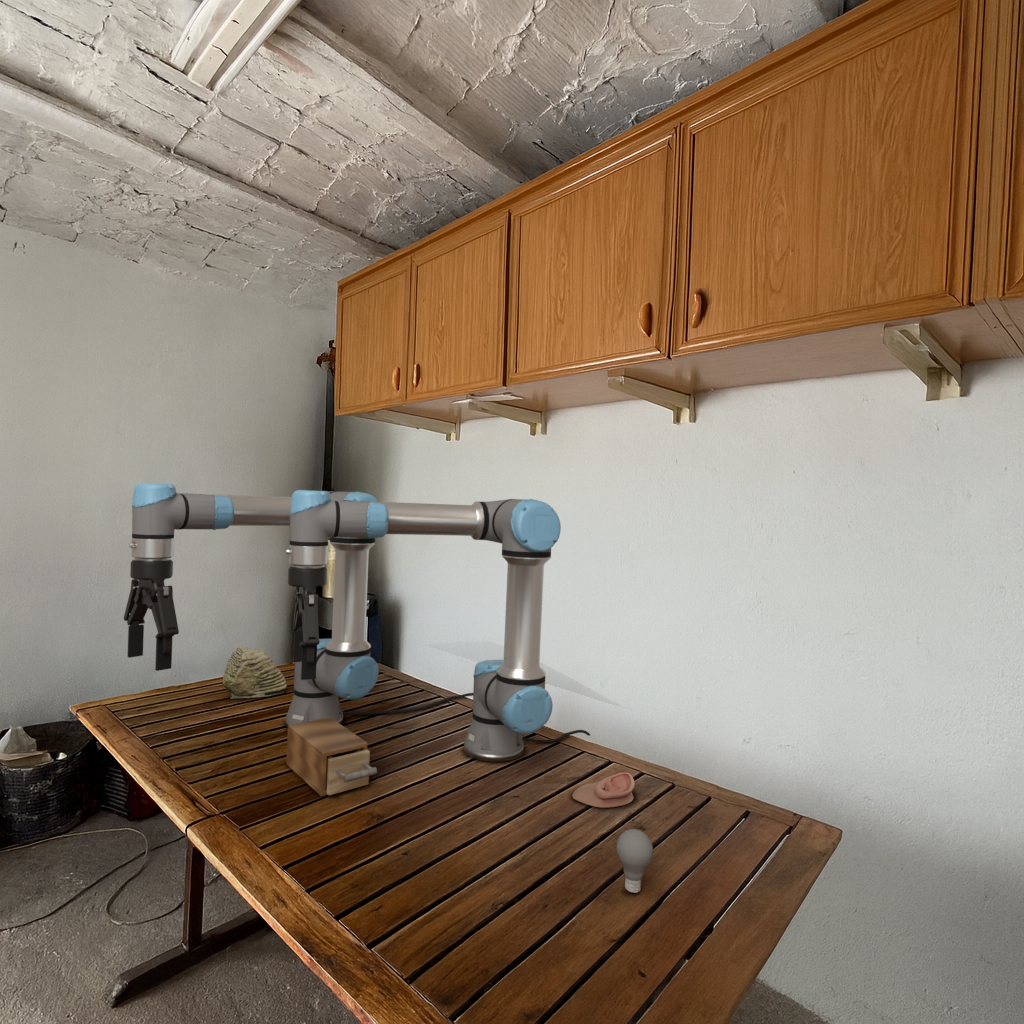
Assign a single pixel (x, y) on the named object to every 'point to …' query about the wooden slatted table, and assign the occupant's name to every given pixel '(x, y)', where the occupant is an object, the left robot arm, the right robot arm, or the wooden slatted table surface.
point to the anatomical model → (607, 791)
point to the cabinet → (318, 749)
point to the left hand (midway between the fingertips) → (148, 662)
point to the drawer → (348, 771)
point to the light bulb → (634, 857)
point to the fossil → (252, 674)
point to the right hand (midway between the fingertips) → (303, 670)
